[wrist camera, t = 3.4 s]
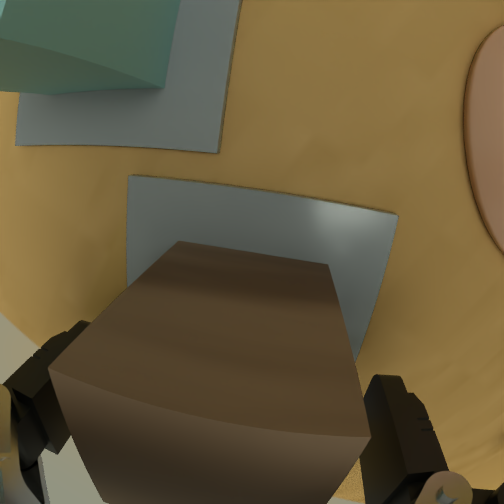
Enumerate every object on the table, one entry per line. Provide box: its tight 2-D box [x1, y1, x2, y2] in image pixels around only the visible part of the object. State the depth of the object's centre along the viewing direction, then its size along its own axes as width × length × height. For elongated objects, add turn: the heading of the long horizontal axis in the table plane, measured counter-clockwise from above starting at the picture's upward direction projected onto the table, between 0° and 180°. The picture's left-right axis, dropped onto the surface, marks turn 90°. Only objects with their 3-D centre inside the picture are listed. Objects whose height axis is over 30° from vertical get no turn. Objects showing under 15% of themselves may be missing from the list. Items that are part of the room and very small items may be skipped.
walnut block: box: [48, 241, 371, 504], centre depth 8 cm, size 5×5×7 cm
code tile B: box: [15, 0, 242, 153], centre depth 9 cm, size 9×9×1 cm
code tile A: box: [126, 174, 399, 362], centre depth 12 cm, size 9×9×1 cm
